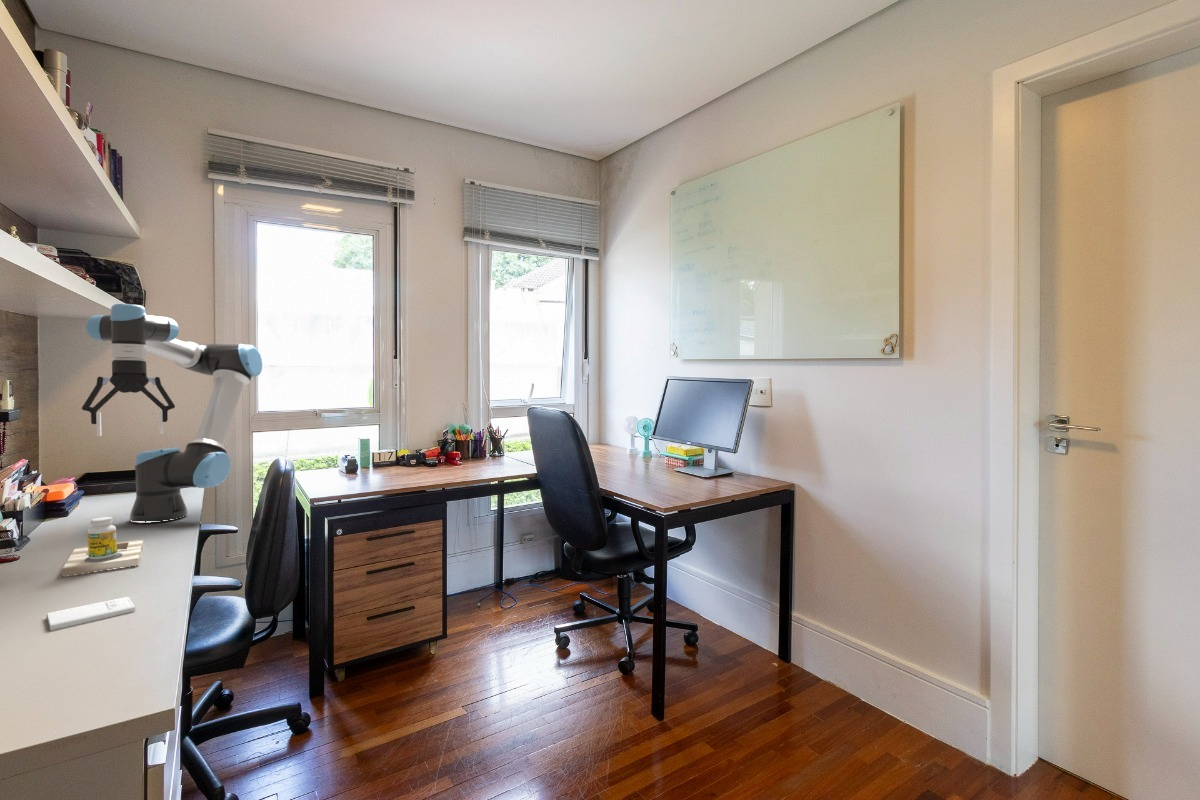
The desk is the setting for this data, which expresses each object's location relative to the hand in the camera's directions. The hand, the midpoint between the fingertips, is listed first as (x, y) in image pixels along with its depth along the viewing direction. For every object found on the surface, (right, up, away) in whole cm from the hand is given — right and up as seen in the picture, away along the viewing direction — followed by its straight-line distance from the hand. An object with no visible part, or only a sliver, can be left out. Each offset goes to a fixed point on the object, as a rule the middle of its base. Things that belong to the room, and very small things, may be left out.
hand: (131, 434), depth 162 cm
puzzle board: (+6, -31, -15) cm, 35 cm away
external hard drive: (+32, -34, -48) cm, 67 cm away
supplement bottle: (+9, -29, -19) cm, 36 cm away
